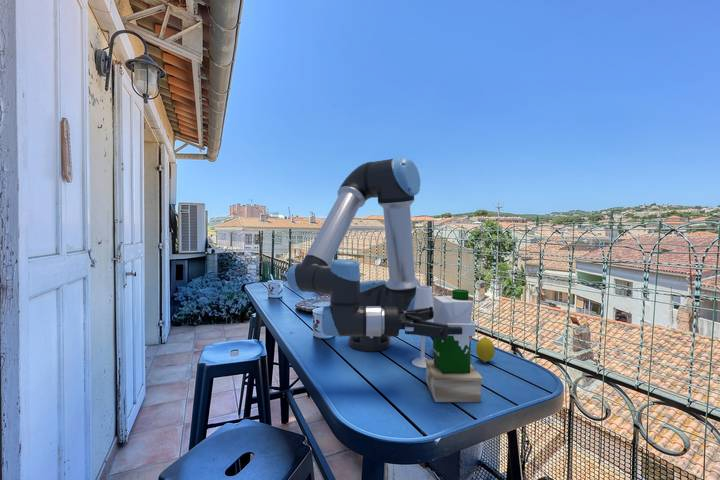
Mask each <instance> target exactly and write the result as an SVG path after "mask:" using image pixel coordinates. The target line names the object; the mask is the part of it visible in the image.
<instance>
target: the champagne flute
mask: <svg viewBox="0 0 720 480" xmlns="http://www.w3.org/2000/svg"><path fill="white" fill-rule="evenodd" d="M433 296H434V295H433V287H432V286H431V285H420V286H417V287H416V295H415V304H414V309H423V308H429V307H433V311H434V299H433ZM427 321H429V322H433V319H430V320H427ZM425 344H426V336H421V335H420V357H417V358H415V359H413V360H412V361H411V364H412V365H413V366H415V367H418V368H422V369H423V368H425V369H426V363H425V359H428V358H427V357H426V356H425V353H426V352H425V351H426V350H425V348H426V346H425Z"/></svg>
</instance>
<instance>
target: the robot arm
mask: <svg viewBox="0 0 720 480" xmlns="http://www.w3.org/2000/svg"><path fill="white" fill-rule="evenodd" d="M420 190H421V176H420V173H419V170H418V167H417V166H416V164H415V162H414V161H413V160H412V159H410V158H407V157H395V158H391V159H385V160H384V159H383V160H377V161H376V160H375V161H368V162H364V163H362V164H360V165H358V167H356V168H354V169H353V171H351V172H350V173H349V175H347V176H346V177H345V179H344V180H343V182H342V183H341V185H339V188H338V189H337V198H336V199H335V202H334V204H333V206H332V208H331V209H330V211H329V213H328V214H327V217H326V218H325V219H324V222H323V223H322V225H321V227H320V229H319V231H318V233H317V234H316V237H315V238H314V239H313V241H312V243H311V245H310V247H309V248H308V250H307V252H306V254H305V256H304V258H303V259H302V262H297V263H294V264H292V265H291V266H290V267H288V269H287V272H286V273H287V274H286V282H287V284H288V287H290V288H291V289H293V290H295V291H299V292H304V293H305V292H307V293H314V294H315V293H316V294H321V295H326V296H330V298H329V299H330V301H329V302H330V303H329V305H325V306H323V308H322V314H321V331H322V334H324V336H332V337H339V338H342V337H348V345H349V347H350V348H351V349H354V350H357V351H362V352H379V351H384V350H386V349H389V347H391V337H392V338H393V337H395V338H397V337H398V336H399V334H400V330H402V331H403V330H404V335H411V336H413V335H414V336H420V337H421V336H425V337H428V338H433V337H434V338H441V339H444V340H448V336H471V337H475V336H476V324H475V323H471V324H451V323H447V325H444V324H439V323H434V322H429V321H427V320H430V319H433V315H434V311H433V309H434V306H433V307H429V308H423V309H414V304H415V295H416V287H417V286H421V281H420V280H419V279H418V278H417V277H416V272H415V258H414V243H413V229H412V228H413V227H412V215H411V206H412V204H413V203H414V201H415V196H417V195H418V194H419V192H420ZM372 198H373V199H374V198H377V204H378V205H379V206H380V207H381V208H382V209H383V221H384V231H385V233H384V234H385V243H386V255H387V265H388V268H387V269H388V280H387V281H386V280H385V279H377V280H374V279H373V280H366V281H361V271H360V263H359V262H358V261H357V260H355V259H344V258H343V259H334V258H335V256H336V253H338V250H339V248H340V246H341V245H342V242H343V241H344V238H345V236H346V235H347V232H348V230H349V228H350V226H351V224H352V222H353V220H354V218H355V216H356V214H357V213H358V211H359V209H360V208H362V207H364V205H365V203H366V201H367V200H369V199H372ZM441 330H442V331H441Z"/></svg>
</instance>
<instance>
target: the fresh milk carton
mask: <svg viewBox="0 0 720 480" xmlns="http://www.w3.org/2000/svg"><path fill="white" fill-rule="evenodd" d="M473 306H474V301H473V300H472V299H470V298H469V290H468V289H452V295H441V296H439V295H435V296H434V295H433V309H434V315H433V322H434V323H439V324H444V325H447V323H451V324H472V314H473V309H474V307H473ZM441 331H442V330H441ZM471 337H472V336H448V340H444V339H441V338H434V337H432V349H433V350H432V352H433V359H434V363H435V365H436V366H437V367H438V368H439V370H440V371H441V372H442V373H443V374H453V373H470V364H471V355H472V354H471V351H472V350H471V349H472V348H471V347H472V346H471V345H472V344H471V342H472V338H471Z"/></svg>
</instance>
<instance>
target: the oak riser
mask: <svg viewBox="0 0 720 480" xmlns="http://www.w3.org/2000/svg"><path fill="white" fill-rule="evenodd" d="M425 363H426V368H425V382H426V385H427V386H428V389H429V390H430V393H431V396H432V398H433V400H434V402H435V403H481V401H482V382H483V381H484V378H483V376H482V375H481V374H480V373H479V372H478V371H477V370H476V369H475V367H474V365H472V363H470V373H453V374H443V373H442V372H441V371H440V370H439V368H438V367H437V366H436V365H435V363H434V358H433V359H432V358H430V359H429V358H427V359H425Z"/></svg>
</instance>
